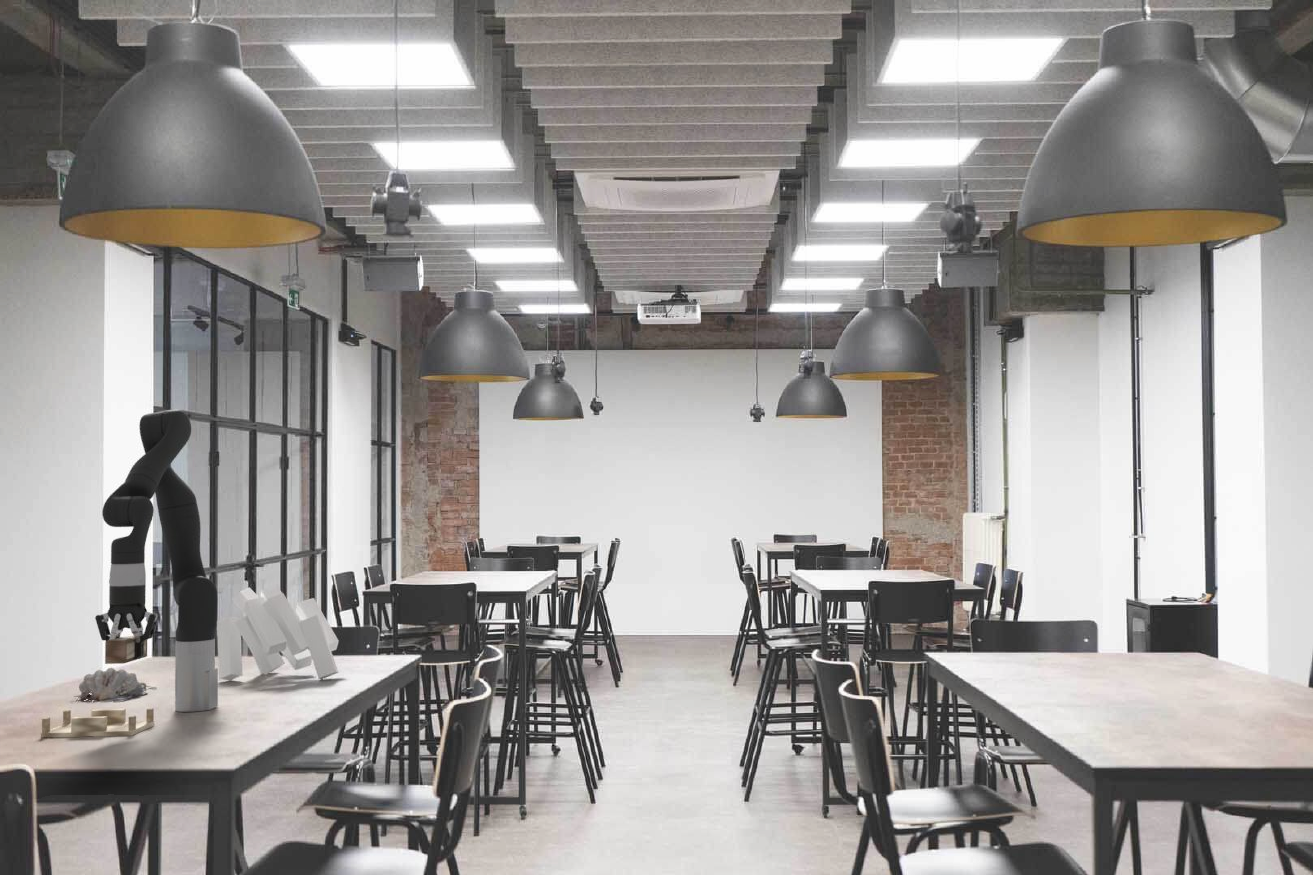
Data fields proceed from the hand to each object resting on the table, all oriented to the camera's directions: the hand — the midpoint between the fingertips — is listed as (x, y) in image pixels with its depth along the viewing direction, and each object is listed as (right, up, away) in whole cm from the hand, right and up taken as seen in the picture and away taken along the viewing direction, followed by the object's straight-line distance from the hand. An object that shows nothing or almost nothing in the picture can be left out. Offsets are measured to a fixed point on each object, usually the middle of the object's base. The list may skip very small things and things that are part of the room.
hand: (126, 658), depth 263 cm
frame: (0, 0, 0) cm, 0 cm away
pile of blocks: (+9, -21, +78) cm, 81 cm away
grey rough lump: (-28, -21, +52) cm, 63 cm away
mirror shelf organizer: (-6, -16, -1) cm, 17 cm away
